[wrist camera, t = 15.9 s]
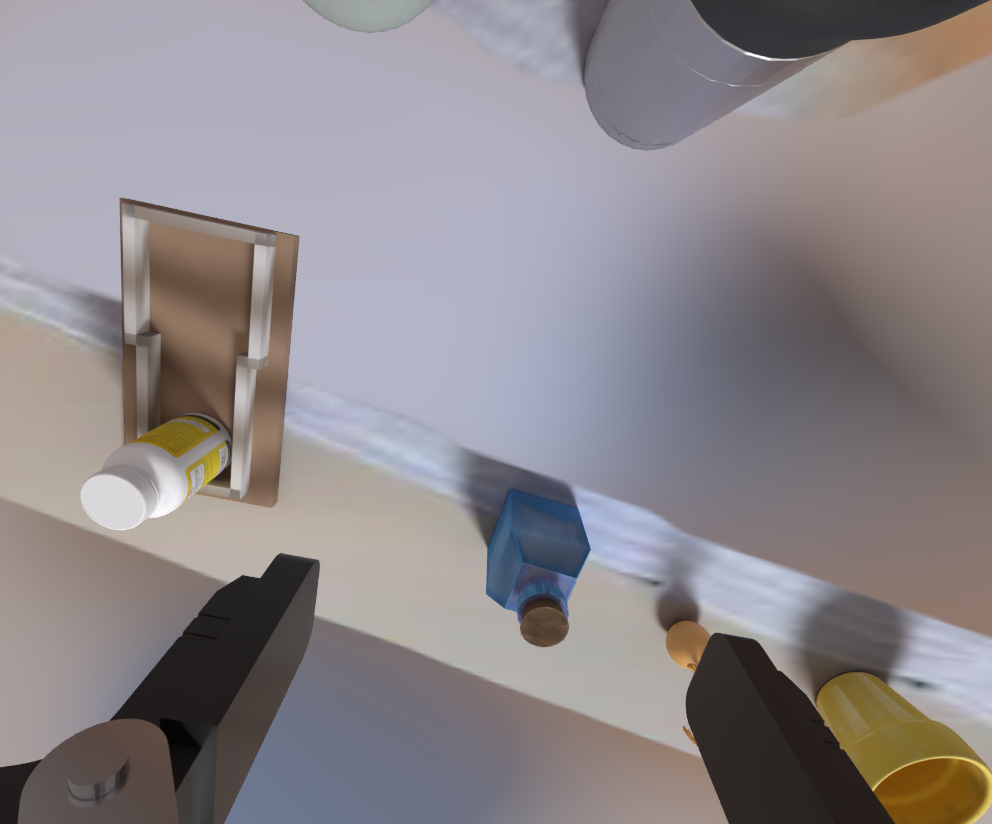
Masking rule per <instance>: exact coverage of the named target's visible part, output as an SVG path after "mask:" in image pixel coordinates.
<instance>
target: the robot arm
mask: <svg viewBox="0 0 992 824" xmlns="http://www.w3.org/2000/svg"><path fill="white" fill-rule="evenodd" d="M987 1H990V0H609V2H608V4H607V6H606V8H605V10H604V13H603V15H602V17H601V20H600V22H599V24H598V27H597V29H596V31H595V33H594V36H593V38H592V40H591V43H590V45H589V48H588V53H587V57H586V61H585V72H584V83H585V91H586V98H587V101H588V104H589V106H590V109H591V112H592V114H593V116H594V117H595V119H596V121H597V122H598V124H599V126H600V127H601V128H602V129H603V130H604V131H605V132H606V133H607V134H608V135H609V136H610V137H611V138H613V139H614V140H616V141H617V142H619V143H620V144H623V145H625V146H628V147H631V148H634V149H641V150H655V149H662V148H665V147H668V146H671V145H674V144H676V143H678V142H680V141H681V140H683V139H685V138H687V137H688V136H690V135H692V134H694V133H695V132H697V131H699V130H701V129H702V128H704V127H706V126H708V125H710V124H711V123H713V122H715V121H716V120H718V119H720V118H721V117H723V116H725V115H726V114H728V113H730V112H732V111H733V110H735V109H737V108H738V107H740V106H742V105H743V104H745V103H747V102H749V101H750V100H752V99H754V98H755V97H757V96H759V95H760V94H762V93H764V92H766V91H767V90H769V89H771V88H772V87H774V86H776V85H777V84H779V83H781V82H782V81H784V80H786V79H788V78H789V77H791V76H793V75H794V74H796V73H798V72H799V71H801V70H803V69H804V68H806V67H807V66H809V65H811V64H812V63H814V62H816V61H818V60H819V59H821V58H823V57H824V56H826V55H828V54H829V53H831V52H833V51H835V50H836V49H838V48H840V47H841V46H843V45H845V44H846V43H848V42H850V41H851V40H862V39H876V38H884V37H891V36H897V35H902V34H906V33H910V32H914V31H918V30H921V29H924V28H927V27H929V26H932V25H935V24H938V23H940V22H942V21H945V20H947V19H950V18H952V17H954V16H957V15H959V14H961V13H963V12H965V11H968V10H970V9H972V8H974V7H976V6H979V5H981V4H983V3H985V2H987ZM319 569H320V563H319V560H316V559H310V558H304V557H299V556H293V555H288V554H282V553H280V554H278V555H277V556H276V557H275V559H274V560H273V561H272V563H271V564H270V565H269V567H268V568H267V570H266V571H265V572H264V574H263V575H262V577H261V578H255V577H249V576H244V575H242V576H241V577H239V578H238V579H236V580H234V581H233V582H231V583H229V584H228V585H226V586H225V587H223V588H221V589H220V590H218V591H217V592H216V593H215V594H214V595H213V596H212V598H211V599H210V600H209V601H208V603H207V604H206V605H205V606H204V607H203V609H202V610H201V611H200V612H199V614H198V617H197V618H194V620H193V621H192V622H191V623H190V625H189V626H188V627H187V628H186V629H185V630H184V632H183V635H182V637H179V638H178V639H177V640H176V641H175V643H174V644H173V645H172V646H171V648H170V649H169V650H168V651H167V653H166V654H165V655H164V656H163V657H162V658H161V660H160V661H159V662H158V663H157V665H156V666H155V667H154V668H153V669H152V671H151V672H150V673H149V675H148V676H147V677H146V678H145V679H144V680H143V682H142V683H141V684H140V685H139V686H138V688H137V689H136V690H135V691H134V693H133V694H132V695H131V696H130V698H129V699H128V700H127V701H126V702H125V703H124V705H123V706H122V707H121V708H120V710H119V711H118V712H117V713H116V714H115V715H114V716H113V717H112V719H111V720H110V721H108V722H104V723H101V724H97V725H95V726H92V727H89V728H87V729H85V730H83V731H81V732H79V733H77V734H75V735H74V736H72V737H70V738H69V739H67V740H65V741H64V742H62V743H61V744H60V745H58V746H57V747H56V748H54V749H53V750H52V751H51V752H50V753H49V754H48V755H47V756H46V757H44V759H41V760H38V761H34V762H30V763H25V764H20V765H14V766H6V767H0V824H224V822H225V820H226V818H227V816H228V814H229V812H230V810H231V808H232V806H233V803H234V802H235V799H236V797H237V795H238V793H239V791H240V789H241V787H242V785H243V783H244V781H245V778H246V776H247V774H248V772H249V770H250V768H251V766H252V764H253V762H254V760H255V757H256V755H257V753H258V751H259V749H260V747H261V745H262V743H263V741H264V739H265V736H266V734H267V732H268V730H269V728H270V726H271V724H272V722H273V720H274V718H275V716H276V713H277V711H278V709H279V707H280V705H281V703H282V701H283V699H284V697H285V695H286V692H287V690H288V688H289V686H290V684H291V682H292V680H293V678H294V676H295V673H296V671H297V669H298V667H299V665H300V663H301V661H302V659H303V656H304V654H305V651H306V649H307V646H308V643H309V639H310V635H311V632H312V626H313V620H314V612H315V604H316V595H317V587H318V578H319ZM686 714H687V719H688V723H689V726H690V728H691V731H692V733H693V736H694V738H695V741H696V743H697V746H698V748H699V751H700V753H701V756H702V758H703V760H704V763H705V765H706V768H707V770H708V773H709V775H710V778H711V780H712V783H713V785H714V788H715V790H716V793H717V795H718V798H719V800H720V803H721V805H722V808H723V810H724V813H725V815H726V818H727V820H728V822H729V824H895V822H894V821H893V820H892V818H891V817H890V815H889V814H888V812H887V811H886V809H885V808H884V807H883V805H882V804H881V802H880V801H879V799H878V798H877V796H876V795H875V794H874V792H873V791H872V789H871V788H870V786H869V785H868V783H867V782H866V781H865V779H864V778H863V776H862V775H861V773H860V772H859V770H858V769H857V768H856V766H855V765H854V763H853V762H852V760H851V759H850V757H849V756H848V755H847V753H846V752H845V750H844V749H841V748H840V743H839V742H838V740H837V739H836V737H835V736H834V734H833V733H832V731H831V730H830V729H829V727H827V726H825V725H824V722H825V721H824V720H823V718H822V717H821V716H820V714H819V713H818V711H817V710H816V708H815V707H814V705H813V704H812V703H811V701H810V700H809V698H808V697H807V695H806V694H805V693H804V692H803V691H802V690H800V689H799V688H798V687H797V686H796V685H795V684H794V683H793V682H792V681H791V680H790V679H789V678H788V677H787V676H786V675H785V674H784V673H783V672H781V671H778V670H777V669H776V667H775V666H774V664H773V663H772V661H771V660H770V658H769V657H768V655H767V654H766V652H765V651H764V649H763V648H762V646H761V645H760V644H759V643H758V642H757V641H756V640H754V639H750V638H744V637H739V636H733V635H728V634H722V633H715V634H713V635H712V636H711V637H710V638H709V640H708V643H707V645H706V647H705V650H704V652H703V654H702V657H701V659H700V661H699V664H698V666H697V669H696V671H695V673H694V676H693V678H692V680H691V683H690V685H689V687H688V690H687V695H686Z"/></svg>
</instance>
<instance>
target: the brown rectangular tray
mask: <svg viewBox="0 0 992 824" xmlns="http://www.w3.org/2000/svg"><path fill="white" fill-rule="evenodd" d="M120 231H121V232H120V234H121V235H120V236H121V284H122V331H123V377H124V424H125V445H126V444H128V443H130V442H131V441H133V440H135V439H137V438H139V437H141V436H142V435H144V434H146V433H148V432H150V431H151V430H153V429H155V428H157V427H159V426H161V425H163V424H165V423H167V422H168V421H170V420H172V419H174V418H176V417H178V416H181V415H184V414H188V413H200V414H204V415H207V416H210V417H212V418H214V419H215V420H217V421H218V422H220V423H221V424H222V425H223V426H224V427H225V428H226V430H227V431H228V432H229V434H230V436H231V438H232V441H233V446H232V459H231V461H230V463H229V465H228V466H227V467H226V468H225V469H224V470H223V471H222V472H220V473H219V474H218V475H217V476H216V477H215V478H213V479H212V480H211V481H210V482H208V483H207V484H206V485H205V486H203V487H202V488H201V489H200V490H199V491H197V492H196V493H195V494H200V495H205V496H211V497H216V498H221V499H227V500H232V501H238V502H243V503H249V504H254V505H259V506H265V507H270V508H272V507H273V506H274V505H275V504H276V503H277V498H278V486H279V474H280V462H281V450H282V438H283V426H284V414H285V402H286V390H287V378H288V366H289V354H290V342H291V330H292V318H293V306H294V293H295V281H296V270H297V258H298V247H299V246H298V245H299V236H296V235H292V234H287V233H282V232H278V231H273V230H269V229H264V228H260V227H255V226H250V225H245V224H241V223H237V222H232V221H227V220H223V219H218V218H214V217H209V216H204V215H199V214H195V213H190V212H186V211H182V210H177V209H172V208H168V207H163V206H159V205H154V204H149V203H145V202H140V201H135V200H130V199H125V198H120Z"/></svg>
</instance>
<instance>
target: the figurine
mask: <svg viewBox="0 0 992 824" xmlns="http://www.w3.org/2000/svg"><path fill="white" fill-rule="evenodd" d="M709 638H710V635H709V633H708V632H707V631H706V630H705V629H704V628H703V627H702V626H701V625H699V624H697V623H695V622H692V621H680V622H678V623H676V624H674V625H673V626H672V627H671V628H670V629H669V631H668V633H667V636H666V647H667V650H668V653H669V655H670V656H671V658H672V659H673V660H674V661H675V662H676V663H677V664H678V665H680V666H682V667H684V668H686V669H690V670H691V671H692V672H693V673H695V671H696V669H697V666H698V664H699V661H700V659H701V657H702V654H703V652H704V650H705V647H706V645H707V643H708V640H709ZM683 730H684V731H685V733H686V735H687V736H688V737H689V739H690V740H691V741H692V742H693V743H694V744H696V745H697V743H696V741H695V738H693V737H692V735H691V732H690V731H689V730H688V731H689V732H688V731H687V729H686V728H685V726H684V727H683Z"/></svg>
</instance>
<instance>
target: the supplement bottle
mask: <svg viewBox="0 0 992 824" xmlns="http://www.w3.org/2000/svg"><path fill="white" fill-rule="evenodd" d="M232 446H233V441H232V438H231V436H230V434H229V432H228V431H227V430H226V428H225V427H224V426H223V425H222V424H221V423H220V422H218V421H217V420H215V419H214V418H212V417H210V416H207V415H204V414H200V413H188V414H184V415H181V416H178V417H176V418H174V419H172V420H170V421H168V422H167V423H165V424H163V425H161V426H159V427H157V428H155V429H153V430H151V431H150V432H148V433H146V434H144V435H142V436H141V437H139V438H137V439H135V440H133V441H131V442H130V443H128V444H126V445H124V446H122V447H120V448H119V449H117V450H116V451H114V452H113V453H112V454H111V455H110V456H109V457H108V458H107V460H106V461H105V463H104V465H103V468H102V470H101V471H99V472H98V473H96V474H94V475H93V476H91V477H90V478H88V479H87V480H86V481H85V482H84V484H83V486H82V488H81V492H80V499H81V503H82V506H83V508H84V510H85V511H86V513H87V514H88V515H89V516H90V517H91V518H92V519H93V520H94V521H95V522H97V523H98V524H100V525H102V526H104V527H106V528H109V529H113V530H127V529H131V528H133V527H135V526H137V525H138V524H140V523H141V522H143V521H144V520H145V519H147V518H154V517H160V516H163V515H166V514H168V513H170V512H172V511H173V510H175V509H176V508H178V507H179V506H180V505H181V504H183V503H184V502H185V501H186V500H188V499H189V498H190V497H191V496H192V495H194V494H195V493H196V492H197V491H199V490H200V489H201V488H202V487H203V486H205V485H206V484H207V483H208V482H210V481H211V480H212V479H213V478H215V477H216V476H217V475H218V474H219V473H220V472H222V471H223V470H224V469H225V468H226V467H227V466H228V465H229V463H230V461H231V459H232Z"/></svg>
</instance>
